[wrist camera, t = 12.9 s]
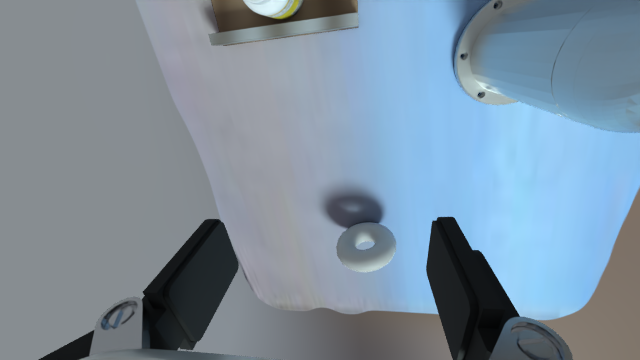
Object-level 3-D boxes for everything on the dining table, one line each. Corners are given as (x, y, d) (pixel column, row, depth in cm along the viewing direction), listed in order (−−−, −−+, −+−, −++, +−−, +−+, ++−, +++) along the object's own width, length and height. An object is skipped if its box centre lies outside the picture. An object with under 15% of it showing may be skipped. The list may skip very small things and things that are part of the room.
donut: (340, 237, 48) (337, 280, 39) (336, 223, 46) (331, 264, 38) (393, 229, 45) (402, 273, 36) (390, 214, 44) (399, 256, 35)
